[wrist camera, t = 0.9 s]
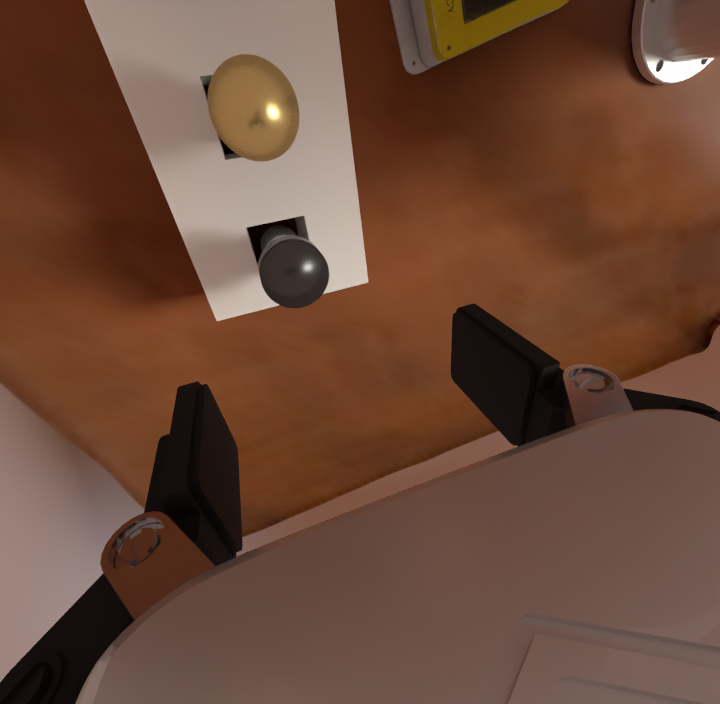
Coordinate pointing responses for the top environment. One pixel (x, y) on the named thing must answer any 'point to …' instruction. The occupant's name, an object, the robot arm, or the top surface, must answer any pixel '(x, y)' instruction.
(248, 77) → the brass plunger
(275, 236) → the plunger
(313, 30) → the block
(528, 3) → the emergency button
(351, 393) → the top surface
